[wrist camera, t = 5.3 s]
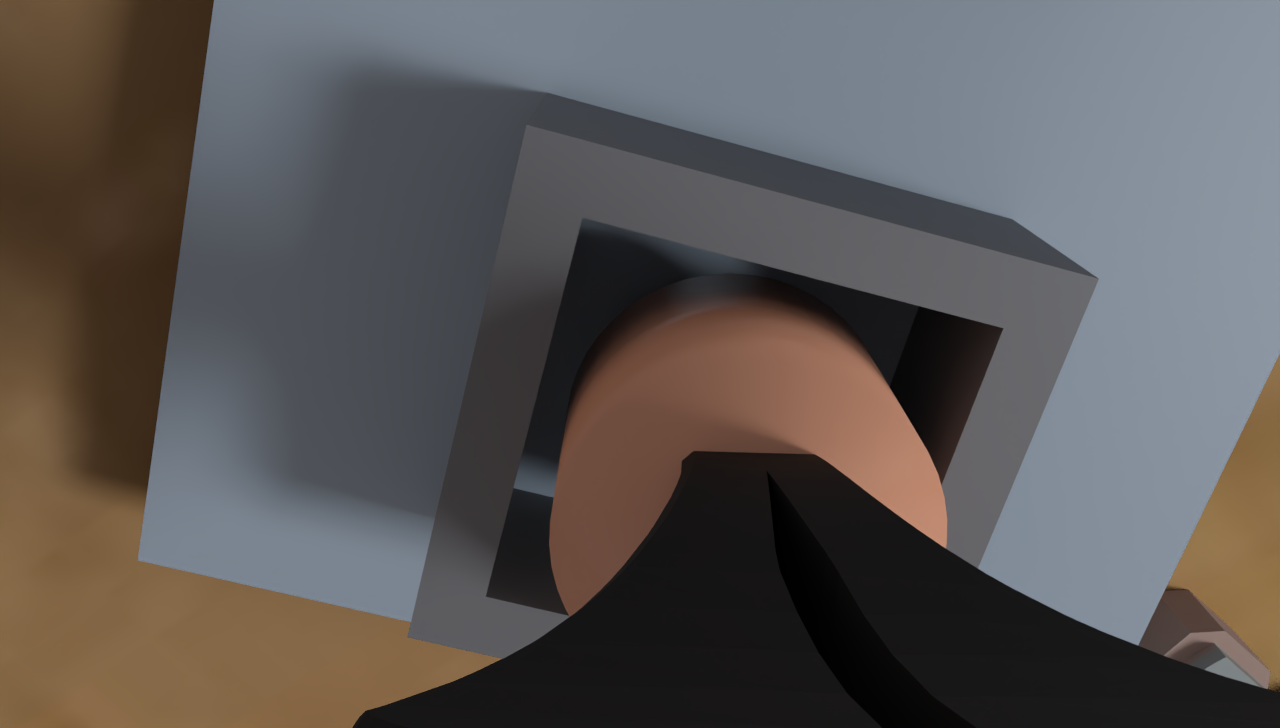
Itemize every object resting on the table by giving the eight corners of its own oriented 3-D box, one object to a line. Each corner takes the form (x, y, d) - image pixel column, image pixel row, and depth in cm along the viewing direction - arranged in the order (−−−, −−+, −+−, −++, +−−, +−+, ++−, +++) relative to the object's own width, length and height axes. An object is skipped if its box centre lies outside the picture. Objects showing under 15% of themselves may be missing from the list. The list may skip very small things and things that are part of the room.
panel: (1654, -659, 14) (2194, -988, 9) (1034, 696, 20) (1157, 922, 15) (429, -1110, 12) (299, -1776, 8) (187, 499, 19) (37, 681, 14)
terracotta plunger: (929, 320, 14) (1006, 412, 11) (827, 598, 15) (871, 744, 12) (611, 237, 13) (604, 310, 11) (534, 529, 15) (510, 663, 12)
